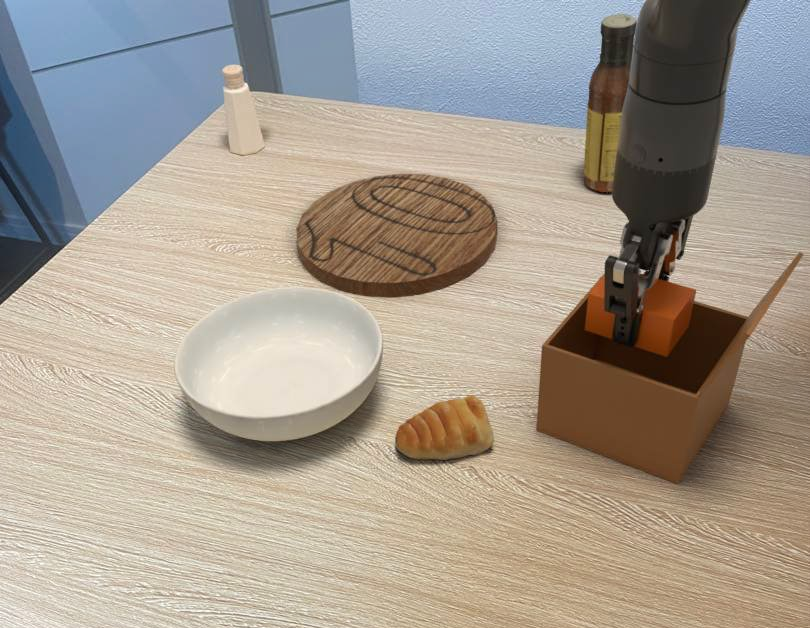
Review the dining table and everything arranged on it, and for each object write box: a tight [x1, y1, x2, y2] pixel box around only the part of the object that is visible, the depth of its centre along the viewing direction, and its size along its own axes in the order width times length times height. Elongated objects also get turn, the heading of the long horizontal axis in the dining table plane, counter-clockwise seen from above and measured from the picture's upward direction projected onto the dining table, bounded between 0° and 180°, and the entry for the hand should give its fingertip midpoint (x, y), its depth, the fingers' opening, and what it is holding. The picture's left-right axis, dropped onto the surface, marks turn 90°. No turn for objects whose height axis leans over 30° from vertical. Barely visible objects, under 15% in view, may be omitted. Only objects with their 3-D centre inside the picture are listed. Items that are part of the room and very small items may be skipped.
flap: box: [699, 251, 804, 393], centre depth 77 cm, size 7×13×1 cm
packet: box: [585, 275, 697, 357], centre depth 82 cm, size 8×5×4 cm, turn 57°
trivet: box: [295, 173, 498, 298], centre depth 114 cm, size 25×25×2 cm
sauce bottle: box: [583, 13, 638, 194], centre depth 113 cm, size 7×6×20 cm
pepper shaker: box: [221, 64, 266, 156], centre depth 129 cm, size 5×5×11 cm
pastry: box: [394, 394, 495, 461], centre depth 89 cm, size 9×7×4 cm
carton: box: [535, 273, 749, 485], centre depth 87 cm, size 15×13×10 cm
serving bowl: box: [173, 286, 384, 442], centre depth 93 cm, size 21×21×7 cm
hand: (637, 325), depth 83 cm, fingers closed on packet, 5 cm apart
